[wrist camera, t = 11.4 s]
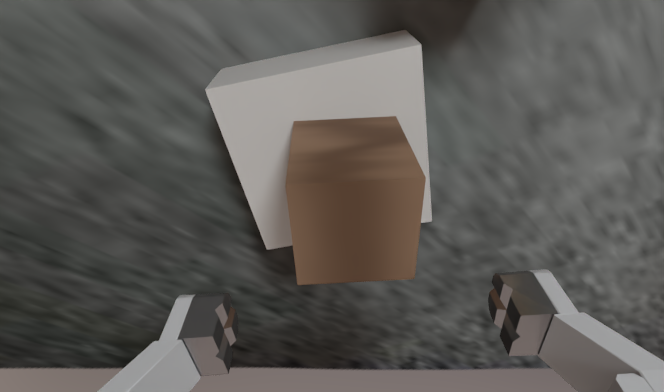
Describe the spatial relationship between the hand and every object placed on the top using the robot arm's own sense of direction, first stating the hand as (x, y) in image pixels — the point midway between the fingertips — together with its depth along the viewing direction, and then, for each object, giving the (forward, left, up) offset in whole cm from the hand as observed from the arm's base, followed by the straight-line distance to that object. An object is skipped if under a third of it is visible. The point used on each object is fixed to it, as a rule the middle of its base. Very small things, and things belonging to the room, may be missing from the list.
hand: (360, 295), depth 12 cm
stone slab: (+1, 0, -13) cm, 13 cm away
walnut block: (0, 0, -9) cm, 9 cm away
